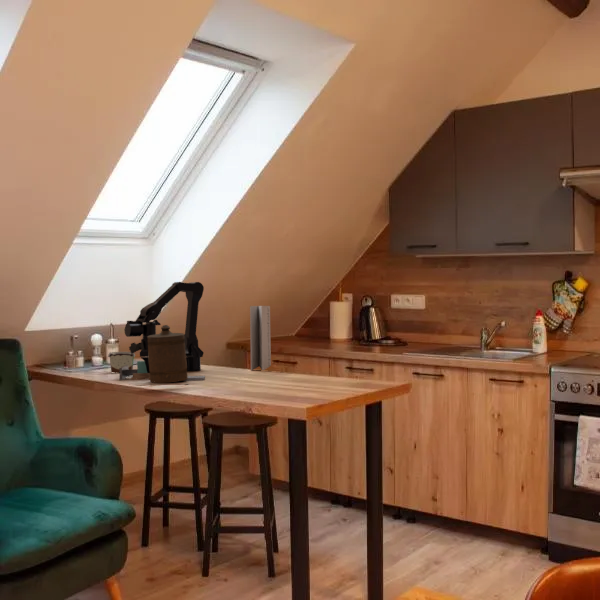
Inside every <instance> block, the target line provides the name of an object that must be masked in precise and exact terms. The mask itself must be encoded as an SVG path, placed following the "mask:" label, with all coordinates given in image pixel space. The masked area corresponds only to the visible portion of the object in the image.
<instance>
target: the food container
mask: <svg viewBox="0 0 600 600" xmlns="http://www.w3.org/2000/svg"><path fill="white" fill-rule="evenodd" d="M107 357H108V358H109V364H110V372H120V370H119V368H121V367H123V366H125V365H128V369H134V361H135V360H134V359H135V357H136V354H135V353H132V354H131V351H112V352H111V351H110V352H109V353H108V356H107Z"/></svg>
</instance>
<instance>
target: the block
mask: <svg viewBox="0 0 600 600" xmlns="http://www.w3.org/2000/svg"><path fill="white" fill-rule="evenodd" d="M136 366H137V367H136V369H137V373H147V369H146V365H145V361H144V360H139V361H137V363H136Z"/></svg>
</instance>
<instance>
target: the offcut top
mask: <svg viewBox="0 0 600 600" xmlns="http://www.w3.org/2000/svg"><path fill="white" fill-rule="evenodd" d="M132 377H133V378H134V377H150V373H133V376H132Z"/></svg>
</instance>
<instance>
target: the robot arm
mask: <svg viewBox="0 0 600 600" xmlns="http://www.w3.org/2000/svg"><path fill="white" fill-rule="evenodd" d="M204 287H205V286H204V285H203V283H201V282H199V281H193V282H192V281H191V282H183V281H182V282H181V281H174V282H172V284H171V286H170V287H168V288H167V289H166V290H165V291H164V292H163V293H162V294H161V295H160V296H159V297H157V298H156V299H155V300H154V301H152V302H151V303H149V304H146V305H145V306H144V307H141V309H140V311H139V312H140V314H139V315H138V317H137V318H136V319H135V320H126V324H125V326H124V335H125V336H126V337H127V338H130V337H132V338H133V337H141V336H142V337H141V341H140V342H138V343H136V342H132V343H130V346H128V348H129V352H131V354H132V353H134V354H135V353H137V352H139V357H140V358H141V359H142V361H145V365H146V369H147V373H150V371H149V356H148V336H150V335H155V334H157V326H161V323H160V322H159V321H158V320H157V318H158V317H159V316H160V314H161V313H162V310H163V309H164V307H165V306H167V304H169V302H171V301H172V300H173V299H174V298H175V297H176V296H177V295H178V294H179V293H180V292H181V293H185V297H186V300H187V307H186V308H187V309H186V317H185V318H186V319H185V330H184V333H183V334H184V337H185V351H186V361H187V372H200V371H201V370H202V369H201V364H202V363H201V358H203V357H204V351H203V350H202V348H200V346H199V339H198V337H197V324H198V314H199V303H200V301H201V299H202V297H203V293H204V289H205V288H204Z"/></svg>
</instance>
